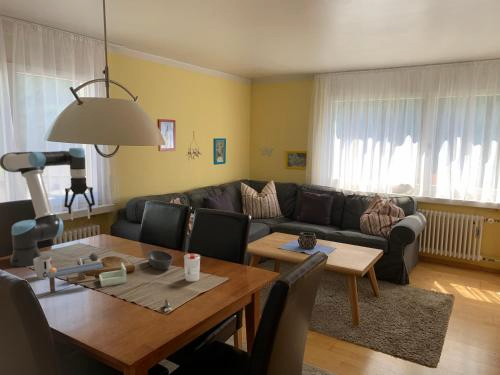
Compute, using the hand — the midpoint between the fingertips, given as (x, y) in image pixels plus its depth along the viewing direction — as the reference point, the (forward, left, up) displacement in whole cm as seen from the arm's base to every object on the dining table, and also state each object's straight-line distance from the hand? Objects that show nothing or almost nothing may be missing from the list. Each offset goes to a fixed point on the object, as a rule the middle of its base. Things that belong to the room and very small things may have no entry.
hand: (80, 218), depth 199 cm
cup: (+7, -19, -27) cm, 34 cm away
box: (+29, +12, -27) cm, 41 cm away
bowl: (+17, +38, -28) cm, 50 cm away
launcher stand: (+21, -6, -27) cm, 35 cm away
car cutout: (+73, +27, -28) cm, 83 cm away
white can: (+43, +48, -27) cm, 70 cm away
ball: (+29, -14, -17) cm, 36 cm away
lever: (+22, -5, -20) cm, 30 cm away
